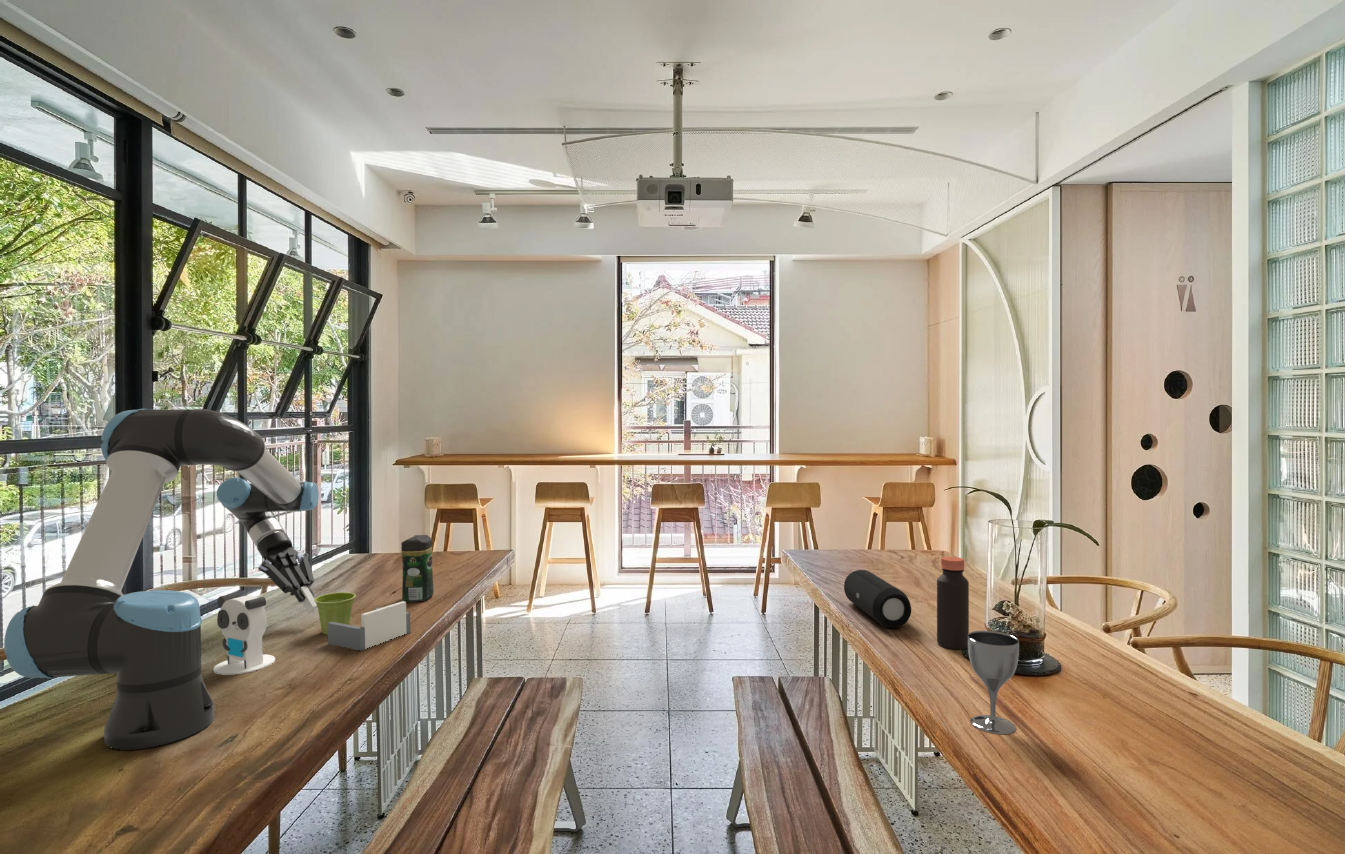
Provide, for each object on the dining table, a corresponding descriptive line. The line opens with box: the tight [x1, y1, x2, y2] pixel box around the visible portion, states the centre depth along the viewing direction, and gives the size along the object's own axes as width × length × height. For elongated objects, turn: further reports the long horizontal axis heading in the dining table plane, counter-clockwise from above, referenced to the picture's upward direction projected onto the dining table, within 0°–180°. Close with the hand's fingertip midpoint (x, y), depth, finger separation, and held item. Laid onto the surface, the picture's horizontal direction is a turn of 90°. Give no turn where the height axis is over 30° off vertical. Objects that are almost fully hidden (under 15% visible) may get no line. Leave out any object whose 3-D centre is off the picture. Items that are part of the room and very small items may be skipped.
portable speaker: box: [843, 569, 912, 628], centre depth 179 cm, size 26×10×10 cm, turn 5°
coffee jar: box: [400, 534, 434, 603], centre depth 199 cm, size 10×8×19 cm
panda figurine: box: [213, 592, 276, 676], centre depth 147 cm, size 12×11×15 cm
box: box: [327, 600, 411, 652], centre depth 164 cm, size 14×11×8 cm
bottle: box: [936, 556, 970, 650], centre depth 155 cm, size 7×7×20 cm
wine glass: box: [967, 630, 1020, 735], centre depth 116 cm, size 8×8×15 cm
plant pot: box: [314, 591, 357, 636], centre depth 169 cm, size 9×9×9 cm
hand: (313, 609), depth 173 cm, fingers closed
